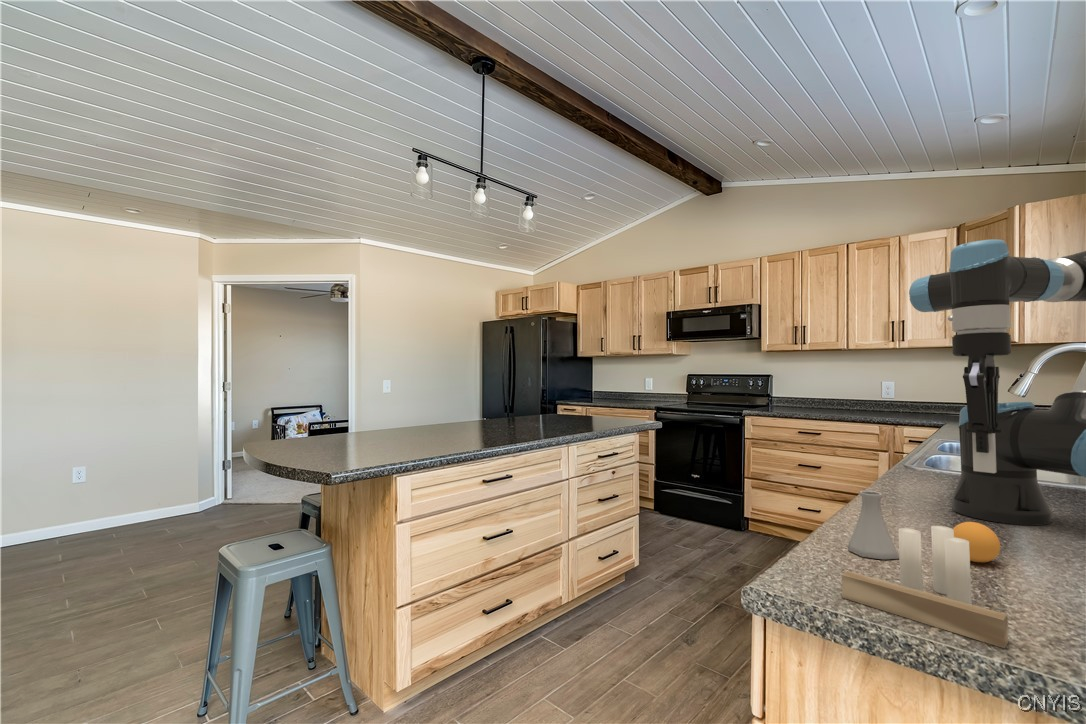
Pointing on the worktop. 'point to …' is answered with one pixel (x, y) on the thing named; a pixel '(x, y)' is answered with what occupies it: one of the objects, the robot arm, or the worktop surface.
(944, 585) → the pin front
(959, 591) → the pin
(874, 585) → the back wall
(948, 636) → the worktop surface
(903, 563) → the pin
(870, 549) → the flask
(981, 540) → the ball
